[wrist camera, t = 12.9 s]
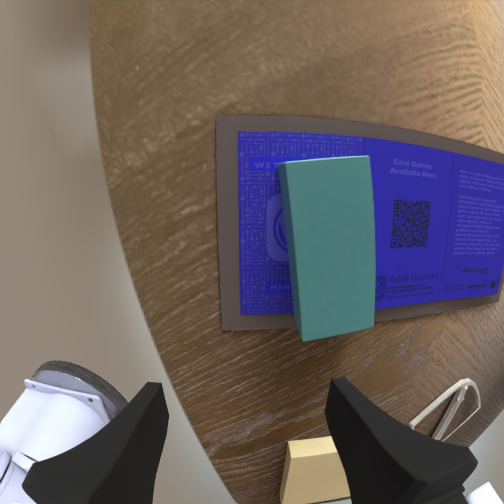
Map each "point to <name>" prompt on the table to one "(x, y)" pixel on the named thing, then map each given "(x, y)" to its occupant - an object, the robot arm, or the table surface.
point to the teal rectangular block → (330, 244)
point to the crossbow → (457, 399)
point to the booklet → (385, 216)
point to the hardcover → (312, 472)
